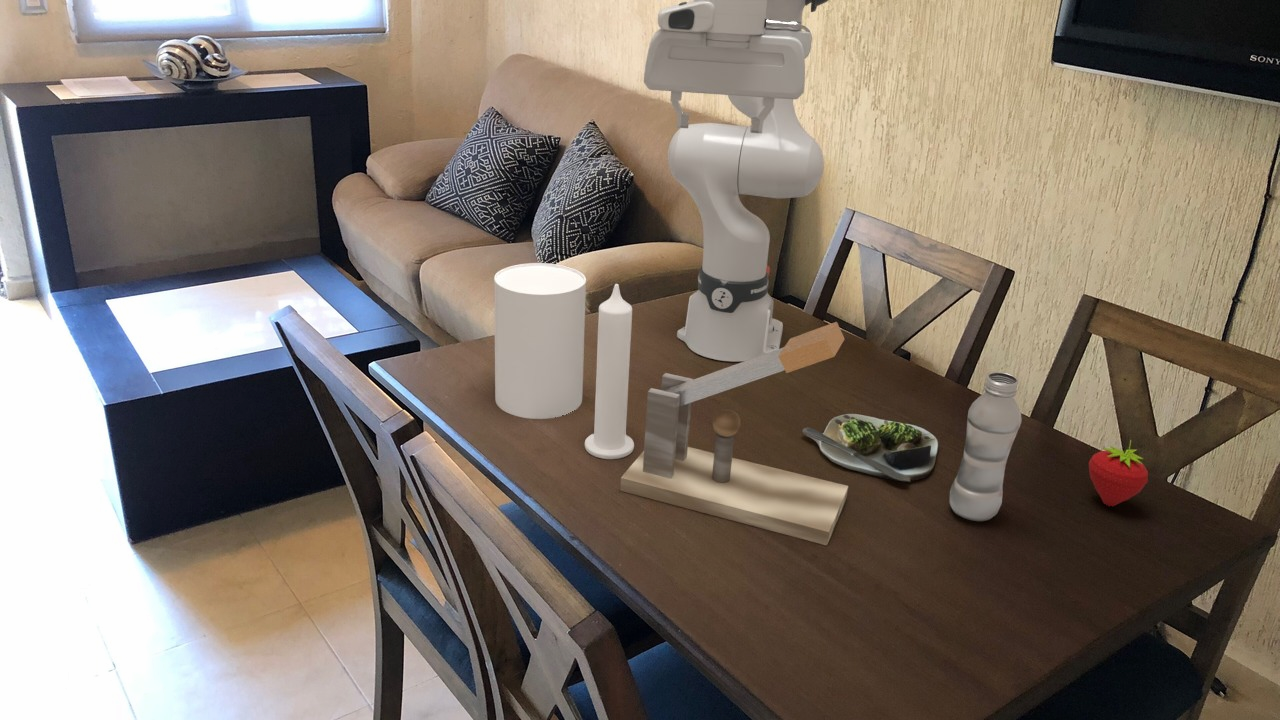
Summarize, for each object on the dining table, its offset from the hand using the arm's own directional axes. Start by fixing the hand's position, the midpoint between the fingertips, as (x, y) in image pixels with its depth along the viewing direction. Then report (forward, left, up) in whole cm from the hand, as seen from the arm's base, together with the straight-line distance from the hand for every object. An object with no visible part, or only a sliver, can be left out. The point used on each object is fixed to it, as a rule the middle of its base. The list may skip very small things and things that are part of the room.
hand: (719, 130), depth 129 cm
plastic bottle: (+2, +40, -46) cm, 61 cm away
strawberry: (-9, +57, -46) cm, 74 cm away
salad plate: (-9, +26, -46) cm, 54 cm away
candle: (+8, -10, -46) cm, 47 cm away
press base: (+12, +10, -45) cm, 48 cm away
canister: (-1, -26, -46) cm, 52 cm away
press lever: (+12, +10, -28) cm, 32 cm away
